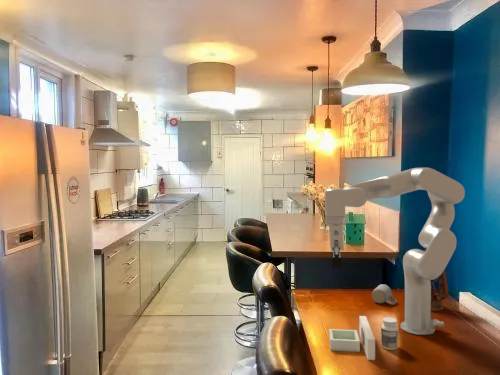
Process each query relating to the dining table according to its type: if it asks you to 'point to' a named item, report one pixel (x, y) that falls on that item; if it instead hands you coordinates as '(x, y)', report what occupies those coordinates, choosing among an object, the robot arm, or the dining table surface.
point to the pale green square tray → (344, 340)
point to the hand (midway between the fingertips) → (336, 264)
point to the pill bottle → (389, 334)
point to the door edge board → (367, 337)
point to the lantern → (437, 299)
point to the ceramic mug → (383, 294)
